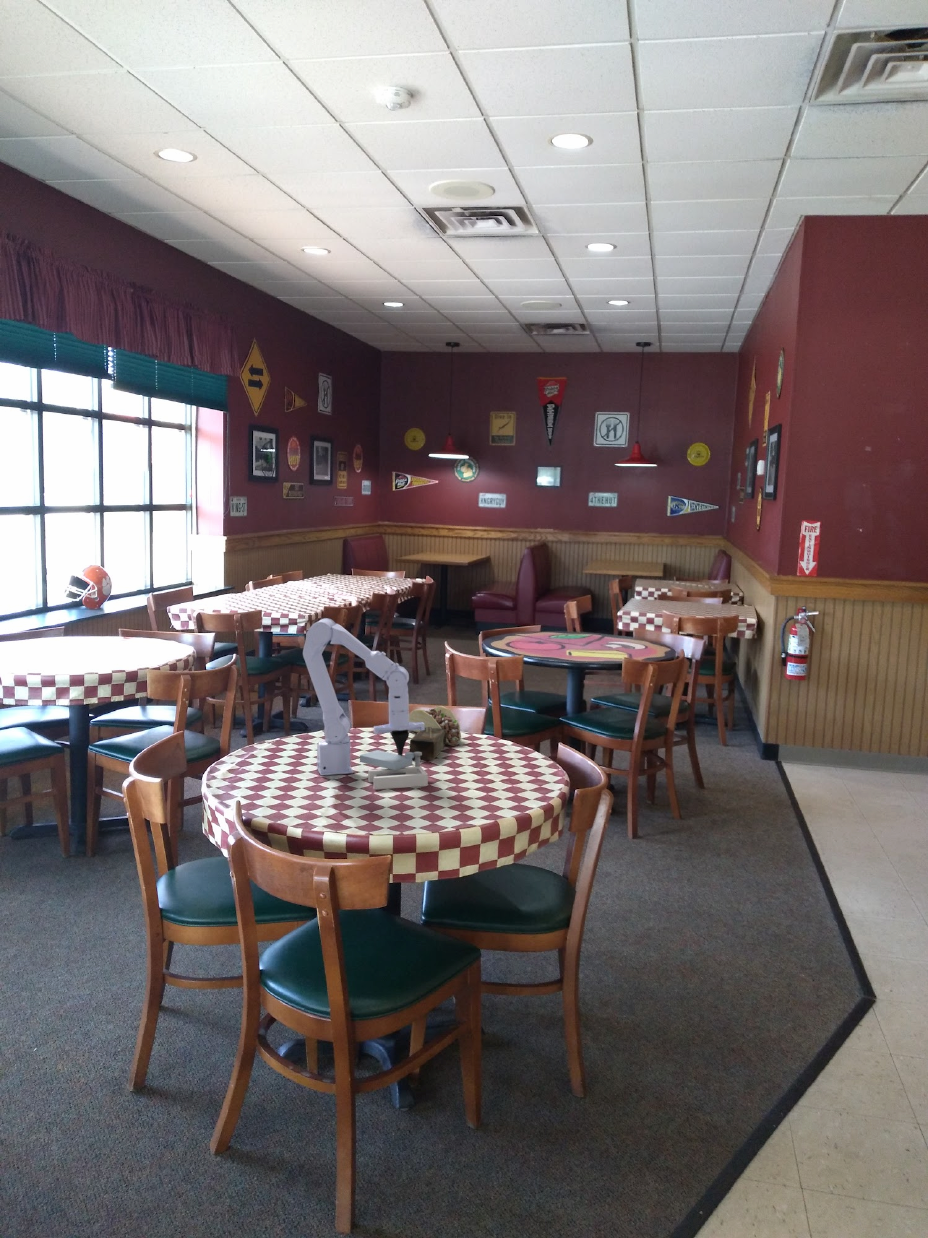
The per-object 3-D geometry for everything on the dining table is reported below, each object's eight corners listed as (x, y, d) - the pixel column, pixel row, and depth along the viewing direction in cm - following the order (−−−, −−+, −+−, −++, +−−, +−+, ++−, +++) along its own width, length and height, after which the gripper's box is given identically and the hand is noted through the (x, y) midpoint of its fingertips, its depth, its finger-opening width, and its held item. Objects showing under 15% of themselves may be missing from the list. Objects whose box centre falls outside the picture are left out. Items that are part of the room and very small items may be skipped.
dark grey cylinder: (378, 785, 251) (377, 774, 251) (376, 785, 254) (375, 774, 254) (406, 783, 253) (406, 772, 254) (404, 783, 256) (403, 772, 256)
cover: (359, 762, 261) (359, 750, 261) (382, 754, 269) (382, 743, 269) (401, 771, 253) (401, 760, 252) (423, 764, 260) (423, 752, 260)
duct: (374, 789, 248) (374, 767, 247) (367, 779, 257) (367, 758, 256) (428, 785, 252) (428, 763, 252) (419, 775, 262) (419, 754, 261)
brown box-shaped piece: (446, 746, 295) (447, 726, 295) (433, 762, 277) (434, 741, 276) (422, 744, 297) (423, 724, 296) (408, 760, 278) (408, 739, 277)
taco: (423, 728, 320) (423, 699, 318) (468, 744, 298) (469, 714, 297) (399, 731, 314) (399, 702, 313) (444, 748, 292) (444, 717, 291)
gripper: (376, 714, 256) (378, 762, 257) (427, 710, 260) (427, 757, 262) (371, 709, 262) (372, 756, 264) (420, 705, 267) (421, 751, 268)
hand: (399, 756), depth 263 cm, fingers closed, pressing on cover
